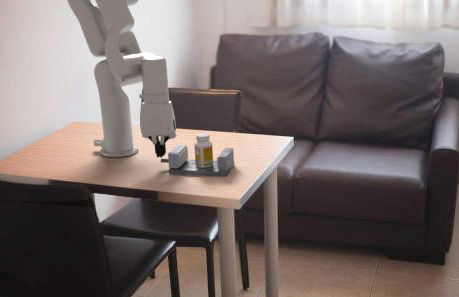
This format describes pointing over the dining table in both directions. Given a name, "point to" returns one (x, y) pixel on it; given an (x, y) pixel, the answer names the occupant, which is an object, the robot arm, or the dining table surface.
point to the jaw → (177, 156)
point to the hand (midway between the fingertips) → (160, 155)
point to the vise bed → (217, 169)
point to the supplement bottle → (203, 151)
